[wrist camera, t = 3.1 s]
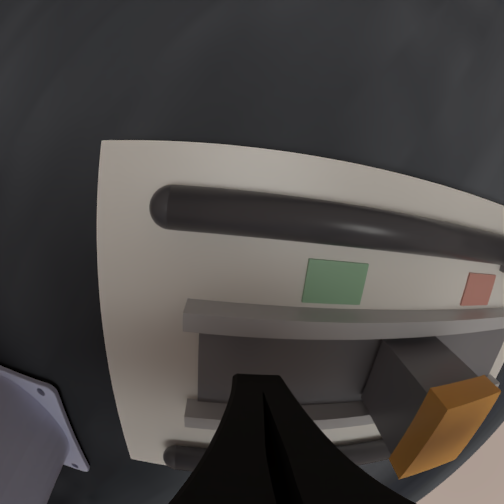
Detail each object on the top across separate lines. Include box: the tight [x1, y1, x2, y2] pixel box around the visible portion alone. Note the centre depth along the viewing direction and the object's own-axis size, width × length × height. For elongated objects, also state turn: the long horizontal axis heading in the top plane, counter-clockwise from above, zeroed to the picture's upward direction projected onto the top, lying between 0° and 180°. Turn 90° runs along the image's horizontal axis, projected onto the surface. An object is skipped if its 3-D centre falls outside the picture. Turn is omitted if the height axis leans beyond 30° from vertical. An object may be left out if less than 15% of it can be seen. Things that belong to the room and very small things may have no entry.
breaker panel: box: [97, 140, 504, 472], centre depth 10 cm, size 20×14×3 cm
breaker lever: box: [361, 336, 501, 479], centre depth 8 cm, size 3×3×4 cm
